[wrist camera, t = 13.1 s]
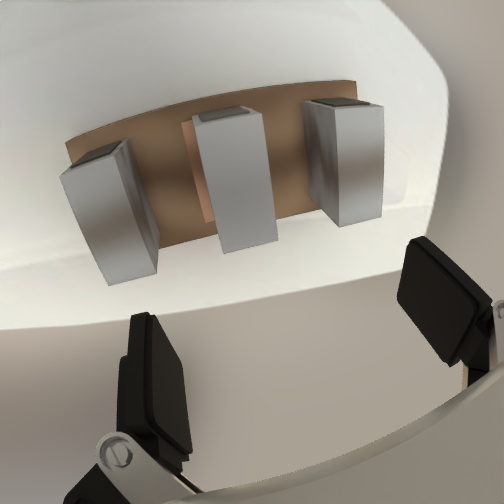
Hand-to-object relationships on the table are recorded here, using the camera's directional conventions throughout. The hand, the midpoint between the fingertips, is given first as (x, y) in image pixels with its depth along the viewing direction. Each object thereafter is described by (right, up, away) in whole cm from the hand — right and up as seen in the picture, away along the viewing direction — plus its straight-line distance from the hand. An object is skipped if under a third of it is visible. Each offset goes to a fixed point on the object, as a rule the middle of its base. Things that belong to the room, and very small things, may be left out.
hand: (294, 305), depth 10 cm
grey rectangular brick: (-3, +9, +13) cm, 17 cm away
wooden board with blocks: (-4, +10, +15) cm, 18 cm away
